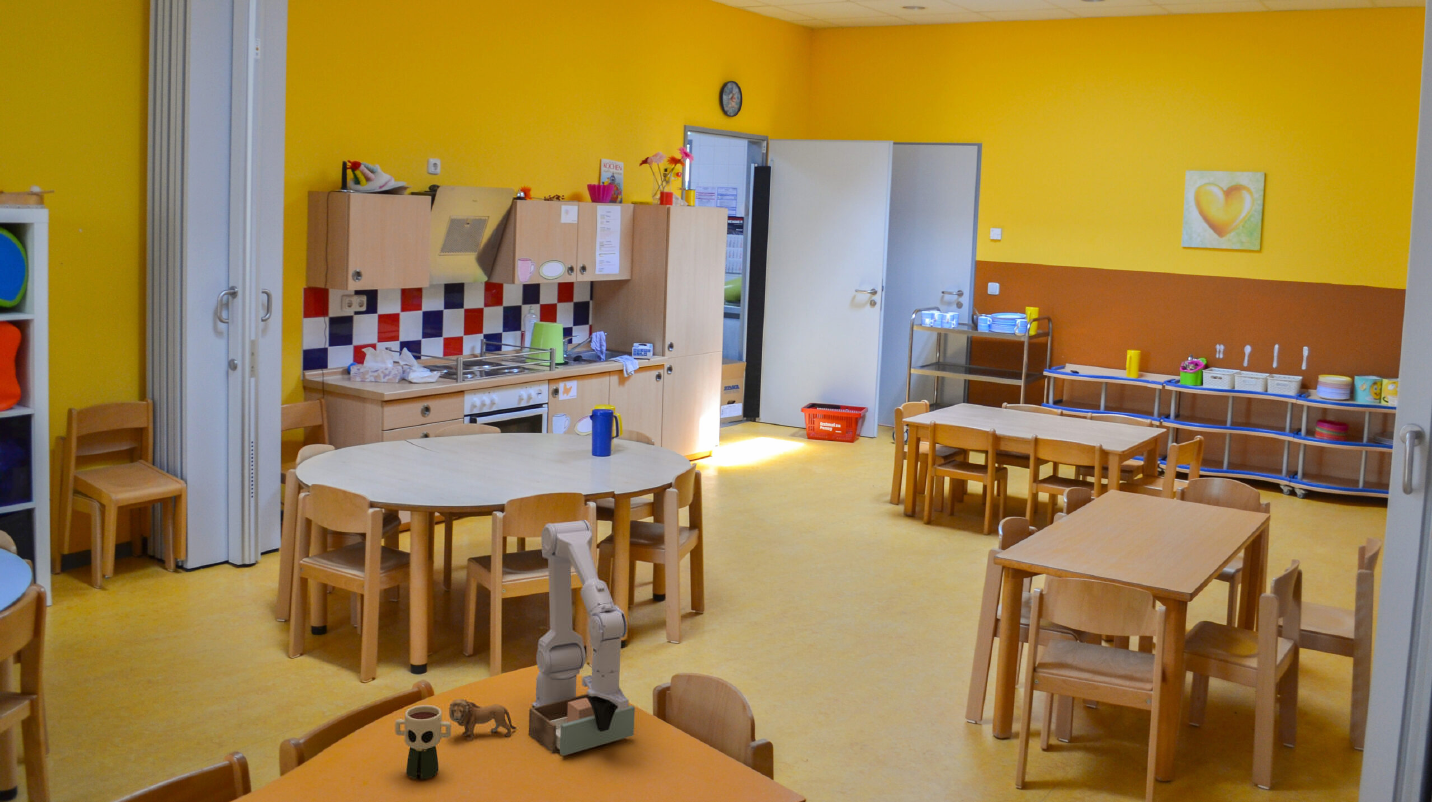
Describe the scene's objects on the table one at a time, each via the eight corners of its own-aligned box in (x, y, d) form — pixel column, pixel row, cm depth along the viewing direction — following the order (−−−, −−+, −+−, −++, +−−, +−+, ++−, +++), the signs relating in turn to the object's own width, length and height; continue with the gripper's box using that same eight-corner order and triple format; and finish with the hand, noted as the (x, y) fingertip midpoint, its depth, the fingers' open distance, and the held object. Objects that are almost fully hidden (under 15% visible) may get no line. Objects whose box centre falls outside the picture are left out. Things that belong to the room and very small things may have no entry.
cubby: (528, 734, 253) (529, 708, 252) (597, 716, 264) (598, 690, 263) (552, 753, 245) (553, 725, 244) (623, 733, 256) (624, 707, 255)
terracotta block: (566, 728, 253) (567, 702, 252) (584, 723, 256) (585, 697, 255) (578, 736, 250) (579, 709, 249) (596, 731, 252) (597, 705, 251)
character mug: (389, 781, 230) (390, 718, 228) (399, 763, 237) (400, 703, 235) (445, 784, 230) (447, 721, 228) (453, 766, 237) (455, 705, 235)
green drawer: (536, 735, 250) (537, 707, 249) (606, 716, 261) (607, 689, 260) (562, 755, 242) (563, 726, 241) (633, 735, 253) (634, 707, 252)
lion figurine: (451, 746, 246) (452, 705, 244) (445, 735, 250) (446, 695, 249) (519, 735, 252) (521, 696, 251) (512, 725, 257) (513, 686, 255)
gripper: (570, 659, 247) (568, 720, 249) (609, 684, 235) (606, 747, 238) (599, 653, 251) (596, 713, 253) (638, 676, 240) (635, 739, 242)
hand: (603, 729), depth 246 cm, fingers closed
